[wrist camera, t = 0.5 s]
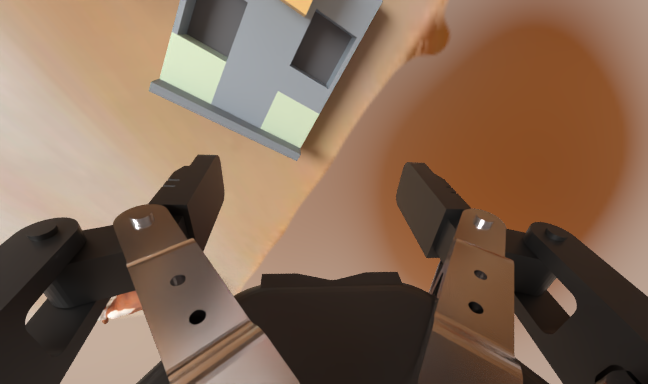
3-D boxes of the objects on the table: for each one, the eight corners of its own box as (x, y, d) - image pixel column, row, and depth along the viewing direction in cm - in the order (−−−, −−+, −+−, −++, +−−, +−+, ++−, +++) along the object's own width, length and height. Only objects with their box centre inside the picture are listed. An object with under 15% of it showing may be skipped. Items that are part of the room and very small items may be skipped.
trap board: (223, -117, 24) (208, -149, 19) (374, 3, 29) (389, -1, 25) (168, 82, 31) (148, 90, 27) (296, 146, 37) (297, 161, 33)
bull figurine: (108, 271, 46) (75, 315, 39) (183, 255, 46) (164, 296, 39) (123, 288, 48) (94, 331, 41) (195, 272, 48) (178, 313, 41)
